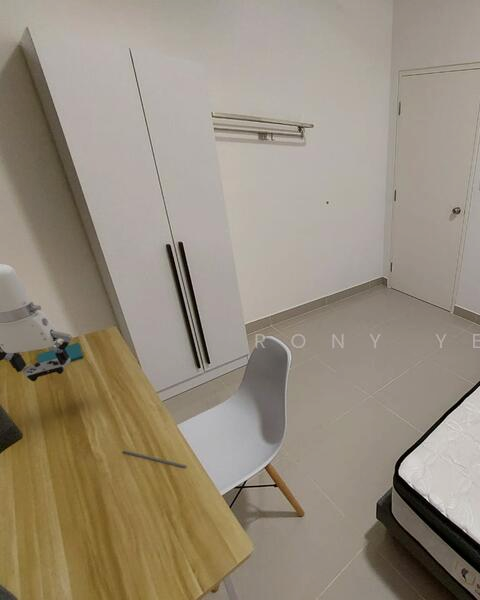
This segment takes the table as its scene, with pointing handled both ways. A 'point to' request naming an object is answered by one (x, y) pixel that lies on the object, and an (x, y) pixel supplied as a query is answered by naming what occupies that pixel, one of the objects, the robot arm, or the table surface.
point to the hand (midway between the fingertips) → (43, 365)
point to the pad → (71, 349)
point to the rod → (154, 459)
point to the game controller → (44, 369)
